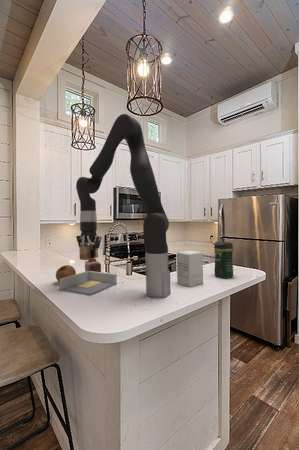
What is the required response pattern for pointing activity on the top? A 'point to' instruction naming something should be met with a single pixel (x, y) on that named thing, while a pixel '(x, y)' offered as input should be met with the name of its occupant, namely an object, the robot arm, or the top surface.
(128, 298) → the top surface
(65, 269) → the onion
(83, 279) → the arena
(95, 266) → the food item
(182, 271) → the supplement box
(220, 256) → the coffee jar
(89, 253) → the walnut brick
